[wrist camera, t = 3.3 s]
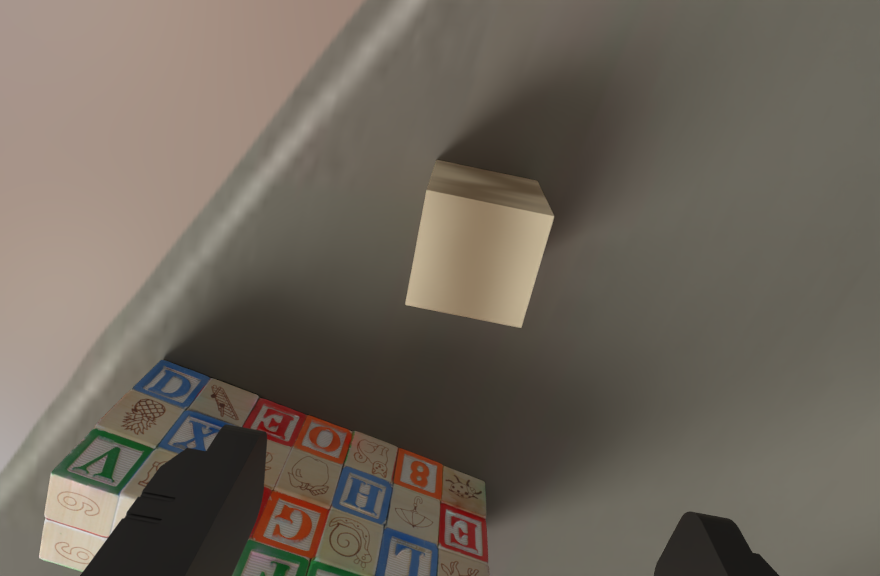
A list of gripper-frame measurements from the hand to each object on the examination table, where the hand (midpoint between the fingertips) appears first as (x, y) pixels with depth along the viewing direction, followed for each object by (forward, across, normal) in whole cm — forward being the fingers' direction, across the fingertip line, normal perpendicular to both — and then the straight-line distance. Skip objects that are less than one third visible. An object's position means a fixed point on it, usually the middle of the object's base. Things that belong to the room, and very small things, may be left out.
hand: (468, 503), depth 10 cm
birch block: (+18, 0, 0) cm, 18 cm away
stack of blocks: (+19, +6, +17) cm, 26 cm away
